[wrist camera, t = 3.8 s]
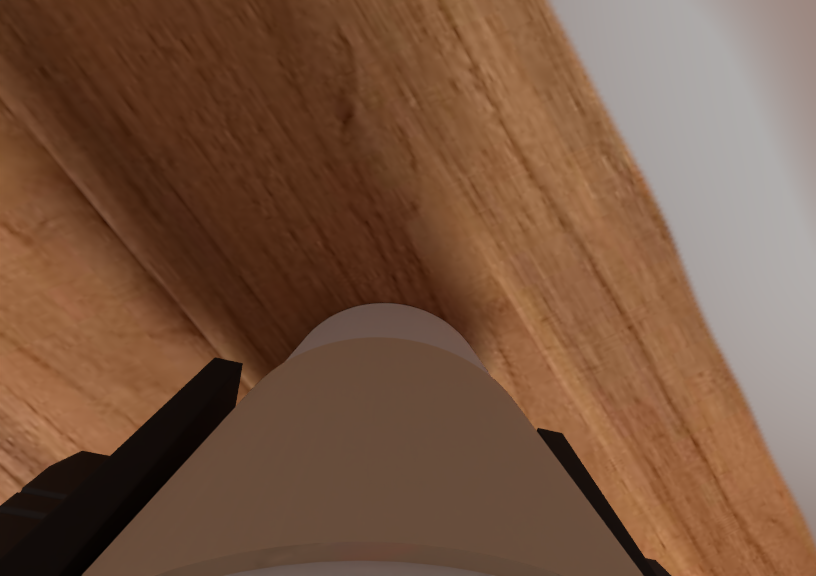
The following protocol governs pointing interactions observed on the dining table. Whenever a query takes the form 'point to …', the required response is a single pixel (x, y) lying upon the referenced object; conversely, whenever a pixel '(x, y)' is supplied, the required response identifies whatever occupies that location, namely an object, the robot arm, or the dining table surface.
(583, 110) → the dining table surface
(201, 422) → the robot arm
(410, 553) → the coffee cup
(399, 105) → the dining table surface
